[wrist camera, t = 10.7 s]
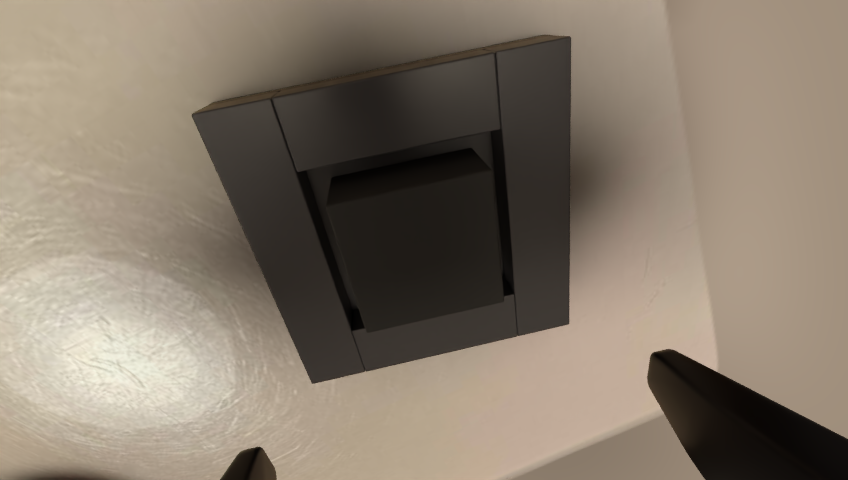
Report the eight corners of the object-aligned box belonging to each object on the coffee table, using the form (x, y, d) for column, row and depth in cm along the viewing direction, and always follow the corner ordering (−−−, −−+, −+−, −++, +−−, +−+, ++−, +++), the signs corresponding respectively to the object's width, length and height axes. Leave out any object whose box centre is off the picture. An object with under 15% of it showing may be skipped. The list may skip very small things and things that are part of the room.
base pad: (545, 34, 15) (571, 35, 13) (551, 297, 21) (569, 324, 19) (212, 102, 14) (190, 114, 12) (316, 351, 20) (311, 384, 18)
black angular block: (472, 146, 16) (493, 169, 13) (485, 265, 18) (505, 302, 16) (330, 176, 15) (324, 205, 13) (365, 292, 18) (366, 334, 16)
